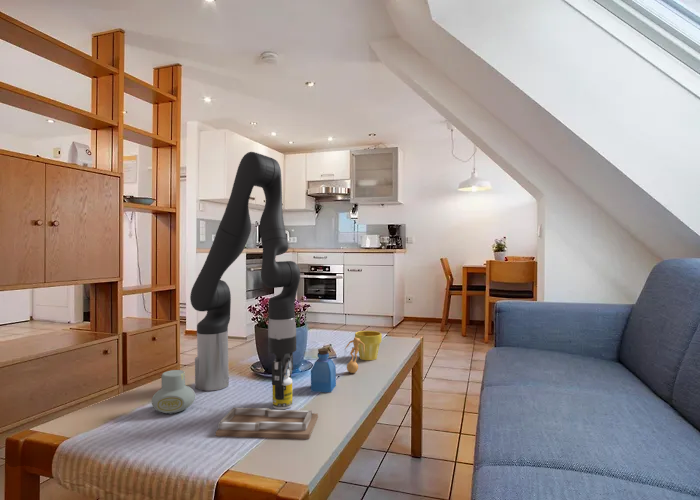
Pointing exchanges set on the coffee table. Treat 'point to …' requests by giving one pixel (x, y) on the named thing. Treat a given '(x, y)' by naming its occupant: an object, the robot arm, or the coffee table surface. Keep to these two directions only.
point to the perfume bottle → (323, 373)
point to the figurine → (352, 365)
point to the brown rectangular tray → (267, 423)
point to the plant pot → (369, 344)
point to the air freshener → (173, 393)
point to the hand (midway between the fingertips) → (283, 393)
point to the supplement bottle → (287, 399)
